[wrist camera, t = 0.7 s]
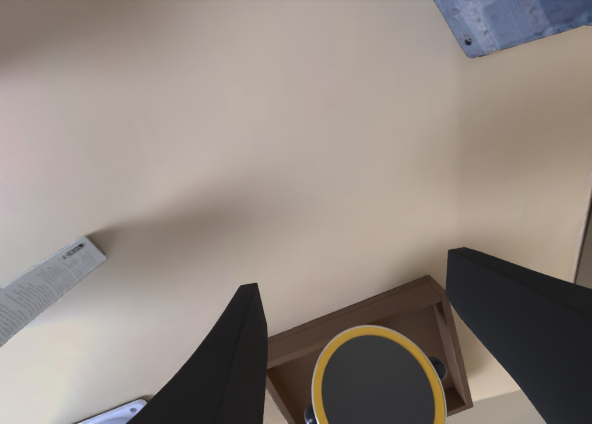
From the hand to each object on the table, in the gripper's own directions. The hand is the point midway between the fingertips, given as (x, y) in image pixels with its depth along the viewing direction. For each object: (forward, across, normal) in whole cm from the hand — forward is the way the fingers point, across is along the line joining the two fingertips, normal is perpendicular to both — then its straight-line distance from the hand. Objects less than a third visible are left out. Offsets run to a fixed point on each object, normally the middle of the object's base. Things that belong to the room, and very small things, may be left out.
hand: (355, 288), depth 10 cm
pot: (+4, -2, +11) cm, 12 cm away
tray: (+9, -2, +16) cm, 18 cm away
